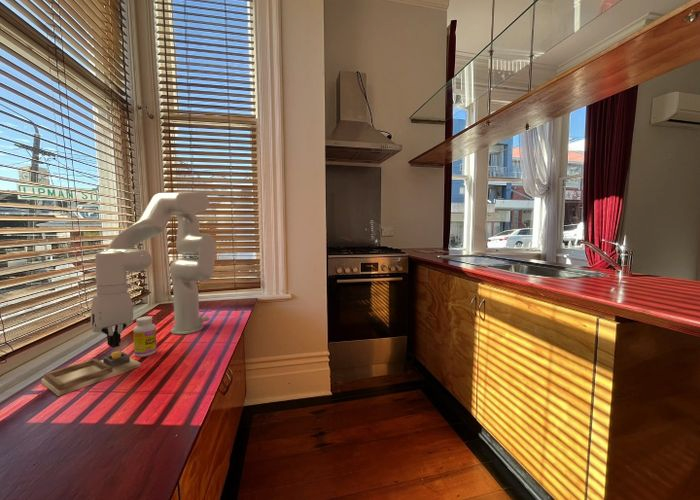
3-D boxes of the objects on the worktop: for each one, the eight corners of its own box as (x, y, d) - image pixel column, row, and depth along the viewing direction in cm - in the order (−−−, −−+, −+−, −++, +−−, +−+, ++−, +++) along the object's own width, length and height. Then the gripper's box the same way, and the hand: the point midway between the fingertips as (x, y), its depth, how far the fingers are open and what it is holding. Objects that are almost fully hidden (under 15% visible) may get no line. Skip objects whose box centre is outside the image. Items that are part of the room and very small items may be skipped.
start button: (119, 358, 99) (118, 350, 99) (122, 359, 98) (122, 352, 97) (110, 361, 97) (110, 353, 97) (114, 362, 96) (113, 354, 95)
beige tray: (121, 357, 104) (121, 347, 104) (140, 366, 98) (140, 356, 97) (41, 383, 87) (40, 371, 87) (58, 396, 80) (57, 383, 80)
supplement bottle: (145, 358, 104) (143, 321, 103) (129, 356, 105) (127, 320, 104) (161, 350, 110) (159, 316, 109) (146, 348, 111) (144, 315, 110)
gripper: (132, 285, 104) (134, 337, 105) (77, 292, 91) (79, 351, 92) (144, 287, 100) (145, 341, 101) (87, 295, 87) (90, 357, 88)
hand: (114, 346), depth 96 cm, fingers closed
